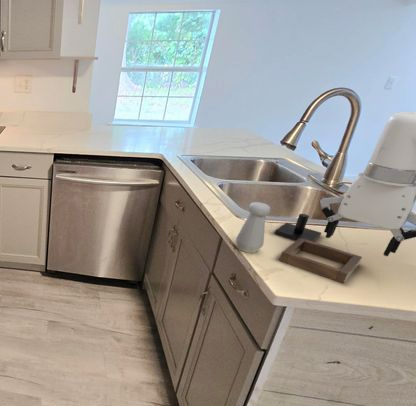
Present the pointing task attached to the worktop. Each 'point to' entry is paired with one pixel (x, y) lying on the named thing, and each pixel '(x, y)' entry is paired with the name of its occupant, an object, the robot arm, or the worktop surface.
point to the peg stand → (298, 230)
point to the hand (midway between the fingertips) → (356, 244)
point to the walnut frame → (317, 267)
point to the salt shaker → (253, 228)
